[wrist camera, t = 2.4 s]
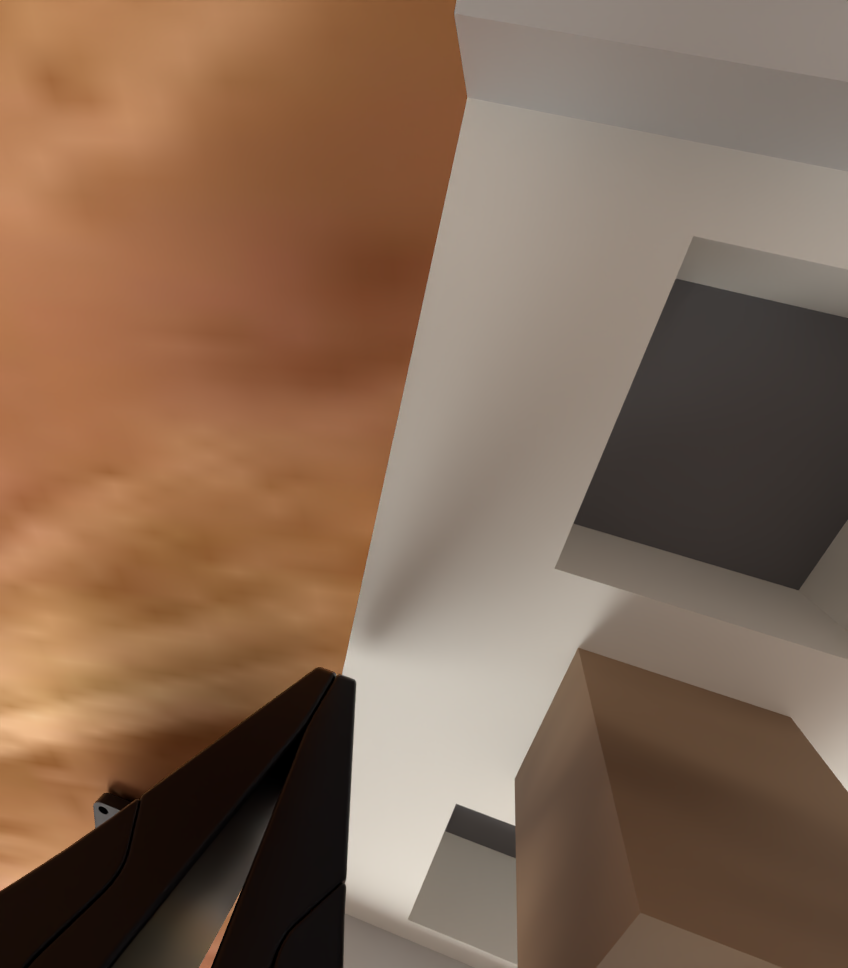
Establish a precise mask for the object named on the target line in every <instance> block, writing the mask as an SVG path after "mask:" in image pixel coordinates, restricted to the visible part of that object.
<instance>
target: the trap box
mask: <svg viewBox="0 0 848 968" xmlns="http://www.w3.org/2000/svg"><path fill="white" fill-rule="evenodd" d="M454 16H455V23H456V29H457V35H458V41H459V48H460V54H461V60H462V66H463V73H464V79H465V85H466V91H467V102H466V106H465V111H464V116H463V120H462V125H461V129H460V134H459V139H458V143H457V148H456V152H455V157H454V162H453V166H452V171H451V175H450V180H449V185H448V189H447V194H446V198H445V203H444V208H443V212H442V217H441V221H440V226H439V231H438V235H437V240H436V244H435V249H434V254H433V258H432V263H431V267H430V272H429V277H428V281H427V286H426V290H425V295H424V300H423V304H422V309H421V313H420V318H419V323H418V327H417V332H416V336H415V341H414V346H413V350H412V355H411V359H410V364H409V369H408V373H407V378H406V382H405V387H404V392H403V396H402V401H401V405H400V410H399V415H398V419H397V424H396V429H395V433H394V438H393V442H392V447H391V452H390V456H389V461H388V465H387V470H386V475H385V479H384V484H383V488H382V493H381V498H380V502H379V507H378V511H377V516H376V521H375V525H374V530H373V534H372V539H371V544H370V548H369V553H368V557H367V562H366V567H365V571H364V576H363V580H362V585H361V590H360V594H359V599H358V603H357V608H356V613H355V617H354V622H353V626H352V631H351V636H350V640H349V645H348V649H347V654H346V659H345V663H344V668H343V672H342V675H344V676H347V677H350V678H352V679H355V680H356V701H355V721H354V740H353V760H352V780H351V799H350V819H349V838H348V858H347V878H346V882H345V885H346V902H345V923H344V962H343V968H518V957H517V897H516V837H515V777H516V775H517V773H518V771H519V769H520V767H521V765H522V762H523V760H524V758H525V756H526V754H527V752H528V750H529V748H530V746H531V744H532V742H533V740H534V738H535V736H536V734H537V731H538V729H539V727H540V725H541V723H542V721H543V719H544V717H545V715H546V713H547V711H548V709H549V707H550V705H551V702H552V700H553V698H554V696H555V694H556V692H557V690H558V688H559V686H560V684H561V682H562V680H563V678H564V676H565V674H566V671H567V669H568V667H569V665H570V663H571V661H572V659H573V657H574V655H575V653H576V651H577V649H578V648H581V649H584V650H587V651H590V652H593V653H596V654H599V655H602V656H605V657H608V658H611V659H615V660H618V661H621V662H624V663H627V664H630V665H633V666H636V667H639V668H642V669H645V670H648V671H651V672H654V673H657V674H660V675H663V676H666V677H670V678H673V679H676V680H679V681H682V682H685V683H688V684H691V685H694V686H697V687H700V688H703V689H706V690H709V691H712V692H715V693H718V694H721V695H724V696H728V697H731V698H734V699H737V700H740V701H743V702H746V703H749V704H752V705H755V706H758V707H761V708H764V709H767V710H770V711H773V712H776V713H779V714H782V715H786V716H789V717H791V718H792V720H793V721H794V722H795V723H796V725H797V726H798V727H799V729H800V730H801V731H802V733H803V734H804V735H805V737H806V738H807V739H808V740H809V742H810V743H811V744H812V746H813V747H814V748H815V750H816V751H817V752H818V754H819V755H820V756H821V757H822V759H823V760H824V761H825V763H826V764H827V765H828V767H829V768H830V769H831V771H832V772H833V773H834V774H835V776H836V777H837V778H838V780H839V781H840V782H841V784H842V785H843V786H844V788H845V789H846V790H847V791H848V0H457V1H456V6H455V11H454Z"/></svg>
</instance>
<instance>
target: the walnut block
mask: <svg viewBox="0 0 848 968" xmlns="http://www.w3.org/2000/svg"><path fill="white" fill-rule="evenodd" d="M515 837H516V897H517V957H518V968H848V791H847V790H846V789H845V788H844V786H843V785H842V784H841V782H840V781H839V780H838V778H837V777H836V776H835V774H834V773H833V772H832V771H831V769H830V768H829V767H828V765H827V764H826V763H825V761H824V760H823V759H822V757H821V756H820V755H819V754H818V752H817V751H816V750H815V748H814V747H813V746H812V744H811V743H810V742H809V740H808V739H807V738H806V737H805V735H804V734H803V733H802V731H801V730H800V729H799V727H798V726H797V725H796V723H795V722H794V721H793V720H792V718H791V717H789V716H786V715H782V714H779V713H776V712H773V711H770V710H767V709H764V708H761V707H758V706H755V705H752V704H749V703H746V702H743V701H740V700H737V699H734V698H731V697H728V696H724V695H721V694H718V693H715V692H712V691H709V690H706V689H703V688H700V687H697V686H694V685H691V684H688V683H685V682H682V681H679V680H676V679H673V678H670V677H666V676H663V675H660V674H657V673H654V672H651V671H648V670H645V669H642V668H639V667H636V666H633V665H630V664H627V663H624V662H621V661H618V660H615V659H611V658H608V657H605V656H602V655H599V654H596V653H593V652H590V651H587V650H584V649H581V648H578V649H577V651H576V653H575V655H574V657H573V659H572V661H571V663H570V665H569V667H568V669H567V671H566V674H565V676H564V678H563V680H562V682H561V684H560V686H559V688H558V690H557V692H556V694H555V696H554V698H553V700H552V702H551V705H550V707H549V709H548V711H547V713H546V715H545V717H544V719H543V721H542V723H541V725H540V727H539V729H538V731H537V734H536V736H535V738H534V740H533V742H532V744H531V746H530V748H529V750H528V752H527V754H526V756H525V758H524V760H523V762H522V765H521V767H520V769H519V771H518V773H517V775H516V777H515Z"/></svg>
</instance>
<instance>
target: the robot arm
mask: <svg viewBox="0 0 848 968" xmlns="http://www.w3.org/2000/svg"><path fill="white" fill-rule="evenodd" d="M355 701H356V680H355V679H352V678H350V677H347V676H344V675H341V674H339V675H337V676H336V673H335V672H333V671H330V670H327V669H324V668H321V667H318V668H315V669H314V670H313V671H311V672H310V673H308V674H307V675H306V676H304V677H303V678H302V679H300V680H299V681H298V682H296V683H295V684H293V685H292V686H291V687H289V688H288V689H287V690H285V691H284V692H282V693H281V694H280V695H278V696H277V697H276V698H274V699H273V700H272V701H270V702H269V703H267V704H266V705H265V706H263V707H262V708H261V709H259V710H258V711H256V712H255V713H254V714H252V715H251V716H250V717H248V718H247V719H245V720H244V721H243V722H241V723H240V724H239V725H237V726H236V727H235V728H233V729H232V730H230V731H229V732H228V733H226V734H225V735H224V736H222V737H221V738H219V739H218V740H217V741H215V742H214V743H213V744H211V745H210V746H208V747H207V748H206V749H204V750H203V751H202V752H200V753H199V754H198V755H196V756H195V757H193V758H192V759H191V760H189V761H188V762H187V763H185V764H184V765H182V766H181V767H180V768H178V769H177V770H176V771H174V772H173V773H172V774H170V775H169V776H167V777H166V778H165V779H163V780H162V781H161V782H159V783H158V784H156V785H155V786H154V787H152V788H151V789H150V790H148V791H147V792H145V793H144V794H143V795H142V796H141V799H140V800H139V799H136V800H134V801H133V802H129V801H127V800H124V799H122V798H120V797H117V796H115V795H112V794H109V793H104V794H102V796H101V797H100V798H99V799H98V800H97V801H96V802H95V803H94V806H93V807H94V817H95V829H94V830H92V831H91V832H90V833H88V834H87V835H85V836H84V837H82V838H81V839H80V840H78V841H77V842H75V843H74V844H72V845H71V846H70V847H68V848H67V849H65V850H64V851H62V852H61V853H59V854H58V855H56V856H54V857H53V858H51V859H50V860H48V861H47V862H45V863H44V864H42V865H40V866H39V867H37V868H36V869H34V870H33V871H31V872H30V873H28V874H27V875H25V876H23V877H22V878H20V879H19V880H17V881H16V882H14V883H13V884H11V885H9V886H8V887H6V888H4V889H3V890H1V891H0V968H199V966H200V964H201V963H202V961H203V959H204V957H205V955H206V953H207V952H208V950H209V948H210V946H211V944H212V942H213V941H214V939H215V937H216V935H217V933H218V931H219V930H220V928H221V926H222V924H223V922H224V920H225V919H226V917H227V915H228V913H229V911H230V909H231V908H232V906H233V904H234V902H235V900H236V898H237V897H238V895H239V893H240V891H241V893H240V895H239V898H238V901H237V903H236V906H235V908H234V911H233V913H232V916H231V918H230V921H229V923H228V926H227V928H226V931H225V934H224V936H223V939H222V941H221V944H220V946H219V949H218V951H217V954H216V956H215V959H214V961H213V964H212V966H211V968H343V962H344V923H345V902H346V885H345V882H346V878H347V858H348V838H349V819H350V799H351V780H352V760H353V740H354V721H355ZM242 887H243V888H242ZM241 889H242V890H241Z"/></svg>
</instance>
